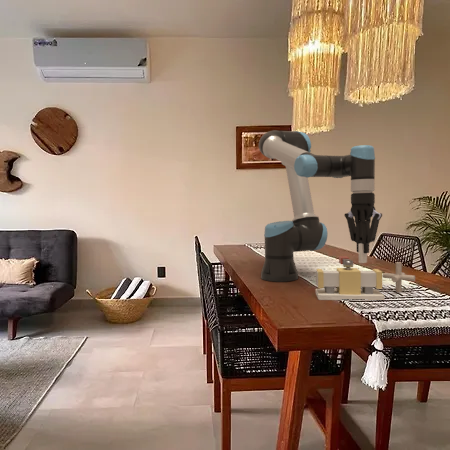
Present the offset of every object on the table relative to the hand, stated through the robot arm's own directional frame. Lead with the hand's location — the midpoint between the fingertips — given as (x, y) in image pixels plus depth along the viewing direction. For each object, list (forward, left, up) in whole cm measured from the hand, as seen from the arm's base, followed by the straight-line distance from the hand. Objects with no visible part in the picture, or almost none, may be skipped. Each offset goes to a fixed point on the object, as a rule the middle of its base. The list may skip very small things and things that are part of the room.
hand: (362, 262), depth 127 cm
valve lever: (+2, -6, -1) cm, 6 cm away
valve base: (+6, -6, -10) cm, 13 cm away
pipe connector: (-2, +12, -11) cm, 16 cm away
